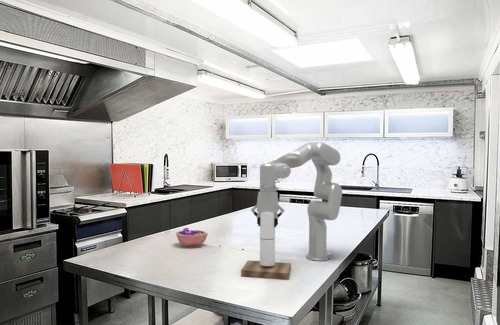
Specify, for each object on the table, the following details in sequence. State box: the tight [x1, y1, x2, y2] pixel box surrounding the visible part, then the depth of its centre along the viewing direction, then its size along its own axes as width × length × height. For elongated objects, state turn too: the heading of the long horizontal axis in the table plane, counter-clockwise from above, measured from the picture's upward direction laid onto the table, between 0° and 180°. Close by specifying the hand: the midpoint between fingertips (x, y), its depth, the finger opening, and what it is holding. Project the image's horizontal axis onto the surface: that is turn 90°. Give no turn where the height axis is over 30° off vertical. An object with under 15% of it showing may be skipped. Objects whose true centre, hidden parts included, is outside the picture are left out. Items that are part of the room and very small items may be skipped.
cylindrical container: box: [259, 213, 276, 266], centre depth 171 cm, size 7×7×25 cm
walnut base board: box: [240, 260, 292, 281], centre depth 171 cm, size 22×16×3 cm
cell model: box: [175, 227, 209, 247], centre depth 221 cm, size 17×20×11 cm
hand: (267, 225), depth 171 cm, fingers closed on cylindrical container, 7 cm apart
